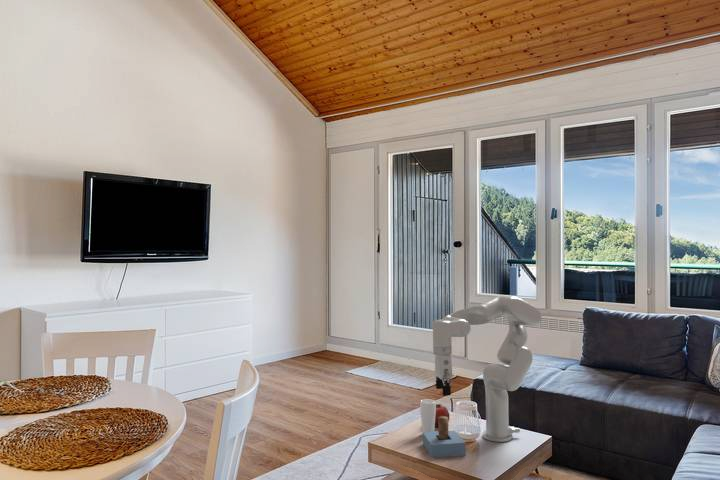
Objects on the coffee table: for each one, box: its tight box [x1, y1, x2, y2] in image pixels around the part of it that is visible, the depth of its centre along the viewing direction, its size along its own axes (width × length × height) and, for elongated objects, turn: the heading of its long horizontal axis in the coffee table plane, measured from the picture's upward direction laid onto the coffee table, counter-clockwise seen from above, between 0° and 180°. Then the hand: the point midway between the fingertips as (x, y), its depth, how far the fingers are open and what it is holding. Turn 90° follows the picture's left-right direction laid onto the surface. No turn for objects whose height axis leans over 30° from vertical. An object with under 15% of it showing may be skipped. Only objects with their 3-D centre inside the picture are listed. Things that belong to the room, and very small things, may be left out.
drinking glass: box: [419, 398, 437, 435], centre depth 232 cm, size 7×7×15 cm
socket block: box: [422, 430, 467, 458], centre depth 215 cm, size 14×14×5 cm
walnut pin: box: [437, 416, 449, 440], centre depth 215 cm, size 4×4×12 cm
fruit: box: [435, 403, 450, 427], centre depth 243 cm, size 11×10×10 cm
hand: (443, 391), depth 215 cm, fingers open, 9 cm apart
